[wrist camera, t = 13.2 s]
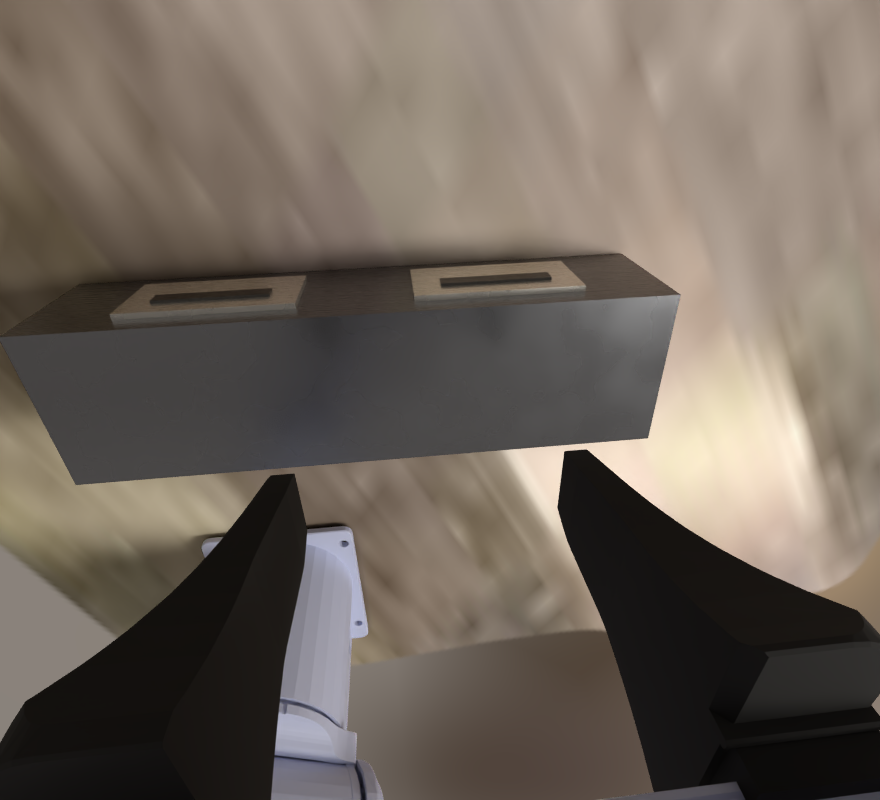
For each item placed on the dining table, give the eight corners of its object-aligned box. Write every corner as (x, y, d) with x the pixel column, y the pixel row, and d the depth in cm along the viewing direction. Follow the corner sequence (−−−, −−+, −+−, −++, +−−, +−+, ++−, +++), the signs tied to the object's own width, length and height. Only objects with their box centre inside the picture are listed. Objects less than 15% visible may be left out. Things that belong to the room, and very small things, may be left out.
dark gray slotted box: (602, 377, 25) (647, 438, 20) (131, 412, 23) (76, 484, 19) (622, 246, 21) (682, 286, 17) (76, 277, 20) (-7, 328, 16)
